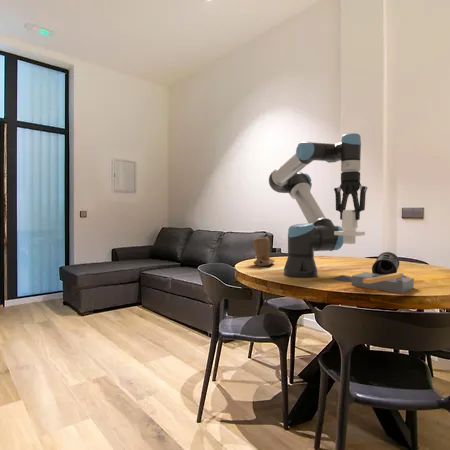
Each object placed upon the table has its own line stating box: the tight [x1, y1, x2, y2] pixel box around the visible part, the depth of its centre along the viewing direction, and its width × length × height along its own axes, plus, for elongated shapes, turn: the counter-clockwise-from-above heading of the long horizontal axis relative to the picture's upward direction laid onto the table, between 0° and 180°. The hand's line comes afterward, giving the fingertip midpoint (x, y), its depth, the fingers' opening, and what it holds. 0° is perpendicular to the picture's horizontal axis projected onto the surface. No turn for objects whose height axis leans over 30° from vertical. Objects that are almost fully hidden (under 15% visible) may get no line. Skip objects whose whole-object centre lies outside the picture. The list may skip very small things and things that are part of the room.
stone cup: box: [252, 237, 275, 267], centre depth 175 cm, size 15×12×15 cm
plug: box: [334, 209, 366, 245], centre depth 134 cm, size 9×9×14 cm
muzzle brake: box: [371, 251, 400, 275], centre depth 140 cm, size 10×28×10 cm, turn 150°
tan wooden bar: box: [363, 272, 404, 284], centre depth 109 cm, size 21×2×1 cm, turn 123°
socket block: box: [351, 271, 415, 295], centre depth 121 cm, size 18×12×6 cm, turn 44°
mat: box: [330, 274, 352, 283], centre depth 135 cm, size 11×11×1 cm
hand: (349, 227), depth 134 cm, fingers closed on plug, 4 cm apart
